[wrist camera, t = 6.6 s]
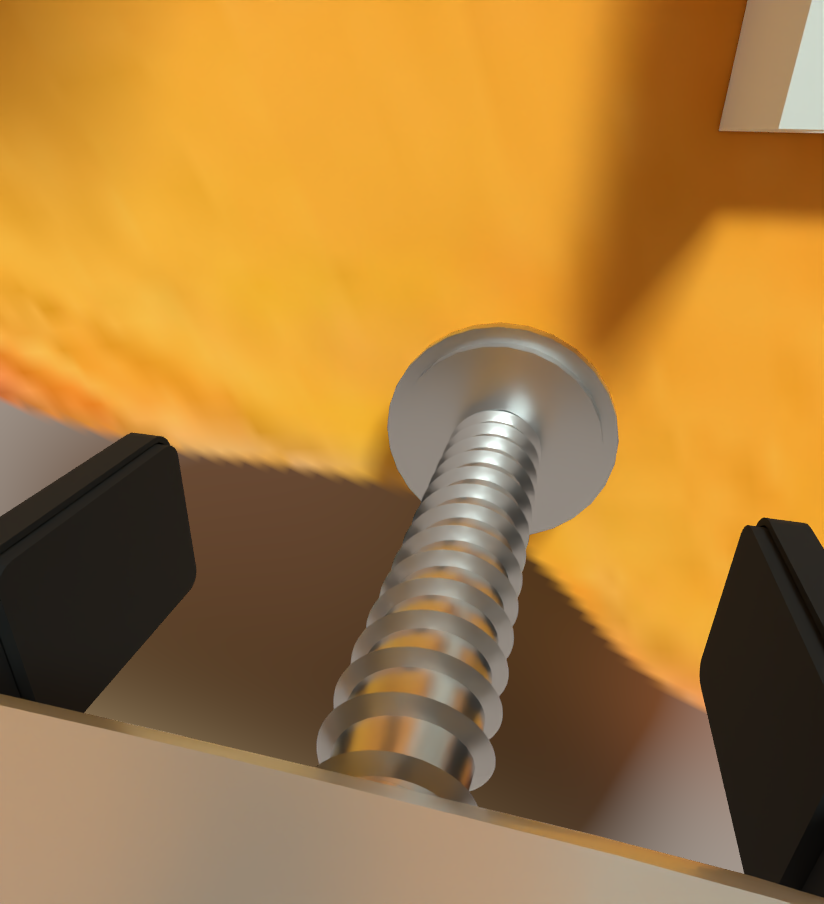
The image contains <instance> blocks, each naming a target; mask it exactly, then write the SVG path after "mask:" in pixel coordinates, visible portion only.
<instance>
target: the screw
mask: <svg viewBox="0 0 824 904" xmlns="http://www.w3.org/2000/svg"><path fill="white" fill-rule="evenodd" d="M387 428H388V436H389V443H390V450H391V453H392V455H393V458H394V461H395V464H396V466H397V469H398V471H399V473H400V474H401V476H402V477H403V479H404V481H405V482H406V484H407V486H408V487H409V489H410V490H411V491H412V492H413V493H414V494H415V495H416V496H417V497H418V498H419V499H420V500H421V504H420V506H419V508H418V509H417V511H416V513H415V515H414V517H413V521H412V525H411V526H410V527H409V529H408V531H407V532H406V534H405V537H404V540H403V545H402V547H401V548H400V549H399V551H398V553H397V555H396V556H395V558H394V561H393V565H392V570H391V571H390V572H389V574H388V575H387V577H386V578H385V581H384V582H383V585H382V587H381V592H380V597H379V599H378V600H377V601H376V602H375V604H374V606H373V607H372V609H371V611H370V613H369V616H368V619H367V625H366V629H365V630H364V631H363V632H362V634H361V635H360V636H359V638H358V639H357V641H356V644H355V646H354V649H353V652H352V656H351V665H350V666H349V667H348V668H347V669H346V670H345V671H344V673H343V674H342V675H341V677H340V679H339V680H338V683H337V685H336V688H335V693H334V710H333V711H332V712H331V713H330V714H329V715H328V716H327V717H326V719H325V720H324V722H323V723H322V725H321V728H320V730H319V733H318V737H317V756H318V762H319V765H318V766H317V767H315V768H320V769H324V770H328V771H332V772H336V773H340V774H345V775H349V776H353V777H357V778H361V779H366V780H370V781H374V782H378V783H382V784H387V785H391V786H395V787H399V788H403V789H407V790H411V791H415V792H419V793H424V794H428V795H432V796H436V797H440V798H444V799H448V800H452V801H456V802H461V803H465V804H469V805H473V806H477V803H476V801H475V799H474V798H473V796H472V795H471V793H470V792H469V791H472V790H475V789H477V788H478V787H480V786H482V785H483V784H485V782H487V781H488V780H489V779H490V777H491V776H492V774H493V771H494V769H495V760H496V758H495V754H494V750H493V747H492V745H491V743H490V741H489V739H490V738H491V737H493V736H494V735H495V733H496V732H497V731H498V729H499V727H500V725H501V723H502V717H503V711H502V704H501V701H500V698H499V696H500V695H501V693H502V692H503V691H504V689H505V687H506V685H507V681H508V678H509V669H508V664H507V660H506V659H507V658H508V656H509V654H510V653H511V650H512V647H513V642H514V634H513V628H512V626H513V625H514V623H515V620H516V618H517V615H518V599H517V598H518V596H519V594H520V592H521V587H522V571H523V568H524V565H525V561H526V547H527V545H528V541H529V535H531V534H534V533H538V532H542V531H545V530H549V529H552V528H555V527H557V526H559V525H560V524H562V523H564V522H566V521H568V520H570V519H572V518H574V517H575V516H576V515H578V514H579V513H580V512H581V511H583V510H584V509H585V508H586V507H587V506H589V505H590V504H591V503H592V502H593V500H594V499H595V498H596V497H597V495H598V494H599V493H600V491H601V490H602V489H603V488H604V486H605V485H606V482H607V480H608V478H609V476H610V473H611V471H612V469H613V467H614V464H615V459H616V453H617V447H618V442H619V441H618V428H617V416H616V410H615V407H614V404H613V401H612V398H611V395H610V392H609V389H608V387H607V386H606V384H605V383H604V381H603V379H602V378H601V376H600V375H599V373H598V372H597V370H596V368H595V367H594V366H593V365H592V364H591V363H590V362H589V361H588V360H587V359H586V358H585V357H584V356H583V355H582V354H581V353H580V352H579V351H578V350H577V349H575V348H574V347H572V346H571V345H569V344H567V343H566V342H564V341H562V340H561V339H559V338H558V337H556V336H554V335H552V334H549V333H547V332H544V331H541V330H538V329H535V328H532V327H529V326H524V325H516V324H508V323H492V324H481V325H474V326H471V327H467V328H464V329H461V330H458V331H455V332H452V333H450V334H448V335H446V336H445V337H443V338H441V339H439V340H438V341H436V342H434V343H433V344H431V345H429V346H428V347H427V348H426V349H425V350H424V351H423V352H422V353H421V354H420V355H419V356H418V357H417V358H416V359H415V360H414V361H413V362H412V363H411V364H410V366H409V367H408V369H407V370H406V372H405V373H404V375H403V376H402V378H401V380H400V381H399V383H398V384H397V386H396V389H395V392H394V395H393V398H392V401H391V403H390V408H389V417H388V427H387ZM477 807H478V806H477Z"/></svg>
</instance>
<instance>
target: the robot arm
mask: <svg viewBox="0 0 824 904" xmlns="http://www.w3.org/2000/svg"><path fill="white" fill-rule="evenodd" d="M195 578H196V564H195V558H194V552H193V546H192V539H191V533H190V527H189V521H188V515H187V509H186V502H185V496H184V490H183V484H182V477H181V472H180V465H179V459H178V454H177V451H176V449H175V448H174V447H172V446H170V444H169V442H168V440H167V439H166V438H164V437H161V436H154V435H146V434H139V433H130V434H128V435H126V436H124V437H123V438H121V439H120V440H118V441H117V442H115V443H113V444H112V445H111V446H109V447H107V448H106V449H104V450H103V451H101V452H100V453H98V454H96V455H95V456H93V457H92V458H90V459H89V460H87V461H86V462H84V463H83V464H81V465H80V466H78V467H76V468H75V469H73V470H72V471H70V472H69V473H67V474H66V475H64V476H63V477H61V478H59V479H58V480H56V481H55V482H53V483H52V484H50V485H49V486H47V487H45V488H44V489H42V490H41V491H39V492H38V493H36V494H35V495H33V496H32V497H30V498H28V499H27V500H25V501H24V502H22V503H21V504H19V505H18V506H16V507H15V508H13V509H12V510H10V511H8V512H7V513H5V514H4V515H2V516H1V517H0V904H824V549H823V547H822V545H821V544H820V542H819V540H818V539H817V537H816V536H815V534H814V532H813V531H812V529H811V527H810V526H809V525H808V524H806V523H800V522H792V521H785V520H777V519H770V518H762V519H760V521H759V522H758V523H757V525H756V526H750V525H747V526H745V527H744V529H743V531H742V533H741V536H740V539H739V542H738V545H737V548H736V551H735V555H734V558H733V561H732V564H731V567H730V570H729V574H728V577H727V580H726V583H725V586H724V589H723V593H722V596H721V599H720V602H719V605H718V608H717V612H716V615H715V618H714V621H713V624H712V627H711V631H710V634H709V637H708V640H707V643H706V646H705V649H704V653H703V656H702V659H701V664H700V684H701V689H702V693H703V698H704V702H705V706H706V711H707V715H708V719H709V723H710V728H711V732H712V736H713V740H714V745H715V749H716V754H717V758H718V762H719V767H720V771H721V775H722V779H723V784H724V788H725V792H726V797H727V801H728V805H729V810H730V814H731V818H732V823H733V827H734V831H735V836H736V840H737V844H738V848H739V853H740V857H741V861H742V865H743V870H744V874H742V873H738V872H734V871H730V870H727V869H722V868H719V867H715V866H711V865H708V864H703V863H700V862H696V861H692V860H688V859H684V858H681V857H676V856H673V855H669V854H665V853H661V852H658V851H654V850H650V849H646V848H642V847H638V846H634V845H630V844H626V843H623V842H619V841H615V840H611V839H608V838H604V837H600V836H596V835H591V834H588V833H583V832H580V831H575V830H571V829H567V828H563V827H559V826H555V825H551V824H546V823H543V822H539V821H534V820H530V819H526V818H522V817H518V816H514V815H510V814H506V813H501V812H497V811H493V810H489V809H485V808H481V807H477V806H473V805H469V804H465V803H461V802H456V801H452V800H448V799H444V798H440V797H436V796H432V795H428V794H424V793H419V792H415V791H411V790H407V789H403V788H399V787H395V786H391V785H387V784H382V783H378V782H374V781H370V780H366V779H361V778H357V777H353V776H349V775H345V774H340V773H336V772H332V771H328V770H324V769H320V768H315V767H311V766H306V765H303V764H298V763H294V762H290V761H286V760H282V759H278V758H273V757H269V756H265V755H261V754H257V753H252V752H248V751H244V750H240V749H235V748H231V747H227V746H223V745H218V744H214V743H209V742H206V741H201V740H197V739H193V738H189V737H185V736H180V735H176V734H172V733H168V732H163V731H159V730H155V729H150V728H146V727H142V726H138V725H133V724H129V723H125V722H120V721H116V720H112V719H107V718H103V717H99V716H94V715H90V714H86V713H84V712H85V711H86V709H87V708H88V707H89V706H90V705H91V704H92V703H93V701H94V700H95V699H96V698H97V697H98V696H99V694H100V693H101V692H102V691H103V690H104V689H105V687H106V686H107V685H108V684H109V683H110V682H111V680H113V678H114V677H115V676H116V675H117V674H118V673H119V671H120V670H121V669H122V668H123V667H124V666H125V664H126V663H127V662H128V661H129V660H130V659H131V657H132V656H133V655H134V654H135V653H136V652H137V651H138V649H139V648H140V647H141V646H142V645H143V644H144V643H145V641H146V640H147V639H148V638H149V637H150V636H151V634H152V633H153V632H154V631H155V630H156V629H157V627H158V626H159V625H160V624H161V623H162V622H163V621H164V619H165V618H166V617H167V616H168V615H169V614H170V612H171V611H172V610H173V609H174V608H175V607H176V605H177V604H178V603H179V602H180V601H181V600H182V599H183V597H184V596H185V595H186V594H187V593H188V592H189V590H190V589H191V588H192V586H193V583H194V581H195Z"/></svg>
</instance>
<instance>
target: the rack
mask: <svg viewBox="0 0 824 904" xmlns="http://www.w3.org/2000/svg"><path fill="white" fill-rule="evenodd" d="M719 131H743V132H787V133H824V0H748V1H747V5H746V10H745V14H744V19H743V23H742V28H741V32H740V37H739V41H738V46H737V50H736V55H735V59H734V64H733V68H732V73H731V77H730V82H729V86H728V91H727V95H726V100H725V104H724V109H723V113H722V118H721V122H720V127H719Z"/></svg>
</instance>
